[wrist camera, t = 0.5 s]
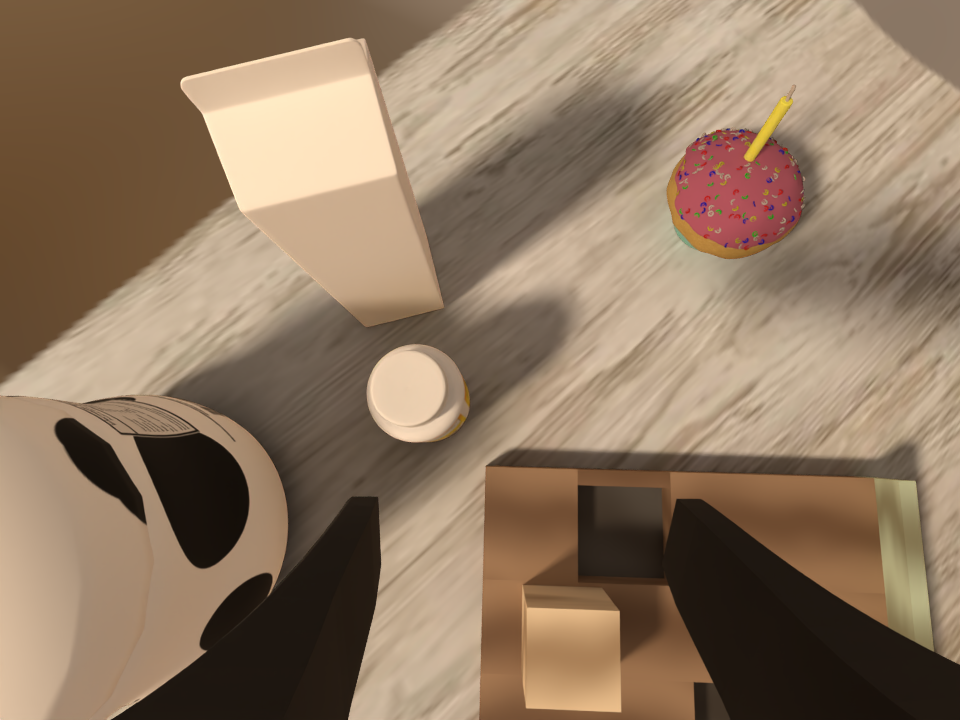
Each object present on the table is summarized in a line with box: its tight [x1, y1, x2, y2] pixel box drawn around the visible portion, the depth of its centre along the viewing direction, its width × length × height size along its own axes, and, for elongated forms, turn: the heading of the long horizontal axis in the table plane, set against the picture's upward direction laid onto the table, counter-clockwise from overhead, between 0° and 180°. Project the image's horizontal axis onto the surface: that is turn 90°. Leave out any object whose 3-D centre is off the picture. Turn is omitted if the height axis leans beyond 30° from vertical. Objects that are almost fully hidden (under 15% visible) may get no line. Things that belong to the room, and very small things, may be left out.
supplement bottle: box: [366, 344, 470, 442], centre depth 31 cm, size 6×6×10 cm
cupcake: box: [667, 85, 806, 259], centre depth 32 cm, size 9×8×12 cm
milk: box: [181, 38, 444, 327], centre depth 27 cm, size 6×6×22 cm
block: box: [521, 585, 621, 712], centre depth 29 cm, size 5×5×4 cm
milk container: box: [0, 395, 288, 720], centre depth 26 cm, size 17×17×18 cm
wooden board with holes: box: [479, 466, 934, 720], centre depth 31 cm, size 20×26×4 cm
